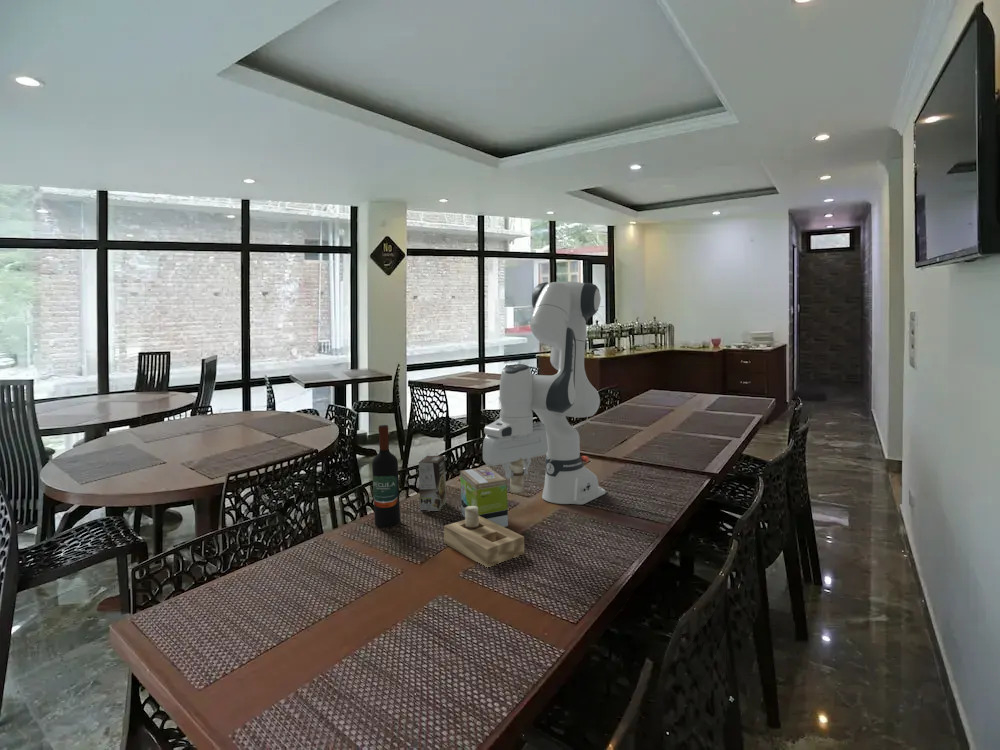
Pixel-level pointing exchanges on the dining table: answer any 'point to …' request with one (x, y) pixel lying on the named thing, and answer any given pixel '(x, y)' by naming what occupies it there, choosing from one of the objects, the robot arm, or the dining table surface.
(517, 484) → the birch peg
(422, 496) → the coffee box
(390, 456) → the wine bottle
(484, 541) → the wooden peg holder
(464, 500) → the tea box
